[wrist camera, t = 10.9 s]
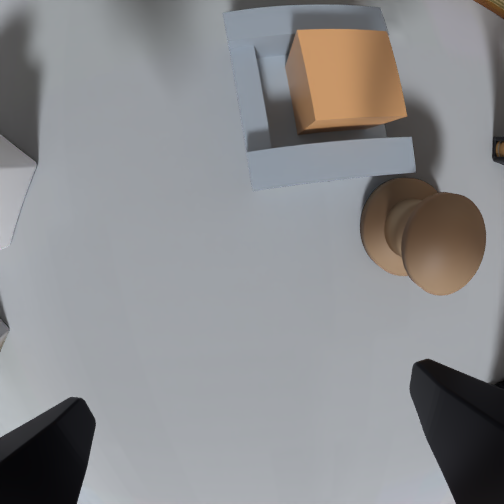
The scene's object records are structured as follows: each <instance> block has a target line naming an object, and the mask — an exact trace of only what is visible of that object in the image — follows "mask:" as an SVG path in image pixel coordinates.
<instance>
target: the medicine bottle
mask: <svg viewBox="0 0 504 504" xmlns="http://www.w3.org/2000/svg"><path fill="white" fill-rule="evenodd" d="M36 166H37V164H36V162H35V161H34V160H33V159H31V158H30V157H29V156H27V155H26V154H25V153H23V152H22V151H21V150H20V149H18V148H17V147H16V146H15V145H13V144H12V143H11V142H9V141H8V140H7V139H6V138H4V137H3V136H2V135H1V134H0V250H1V249H3V248H6V247H8V246H9V245H10V244H11V240H12V237H13V233H14V230H15V226H16V223H17V220H18V216H19V213H20V210H21V207H22V204H23V201H24V198H25V196H26V193H27V190H28V187H29V185H30V182H31V179H32V177H33V174H34V172H35V169H36Z"/></svg>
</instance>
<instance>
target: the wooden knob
mask: <svg viewBox="0 0 504 504" xmlns="http://www.w3.org/2000/svg"><path fill="white" fill-rule="evenodd" d="M360 233H361V239H362V243H363V246H364V248H365V250H366V252H367V254H368V255H369V257H370V258H371V259H372V260H373V261H374V262H375V263H376V264H377V265H378V266H380V267H381V268H382V269H384V270H385V271H387V272H389V273H391V274H394V275H398V276H409V277H410V278H411V280H412V281H413V282H414V283H416V284H417V285H418V286H419V287H421V288H422V289H423V290H425V291H426V292H428V293H430V294H433V295H448V294H451V293H454V292H456V291H458V290H459V289H461V288H462V287H464V286H465V285H466V284H467V283H468V282H469V281H470V280H471V279H472V277H473V276H474V275H475V273H476V271H477V270H478V268H479V266H480V264H481V261H482V258H483V255H484V251H485V245H486V230H485V224H484V220H483V217H482V215H481V213H480V211H479V209H478V208H477V206H476V205H475V204H474V203H473V202H472V201H471V200H470V199H468V198H466V197H465V196H462V195H459V194H453V193H447V192H440V193H438V192H437V191H436V190H435V189H434V188H433V187H432V186H431V185H429V184H428V183H426V182H424V181H422V180H419V179H413V178H395V179H392V180H389V181H387V182H385V183H383V184H382V185H380V186H379V187H378V188H377V189H376V190H374V192H373V193H372V194H371V195H370V197H369V198H368V200H367V202H366V204H365V206H364V209H363V212H362V216H361V222H360Z"/></svg>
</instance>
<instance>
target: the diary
mask: <svg viewBox="0 0 504 504" xmlns="http://www.w3.org/2000/svg"><path fill="white" fill-rule="evenodd" d="M474 1H475V2H477V3H479V4H481V5H482V6H484V7H486V8H487V9H489V10H491V11H492V12H494V13H495V14H497V15H498V16H500V17H501V18H503V19H504V0H474Z"/></svg>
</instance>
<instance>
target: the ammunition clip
mask: <svg viewBox="0 0 504 504" xmlns="http://www.w3.org/2000/svg"><path fill="white" fill-rule="evenodd" d="M493 160H494V161H495V162H497V163H500V164H502V165H504V137H494V148H493Z"/></svg>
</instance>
